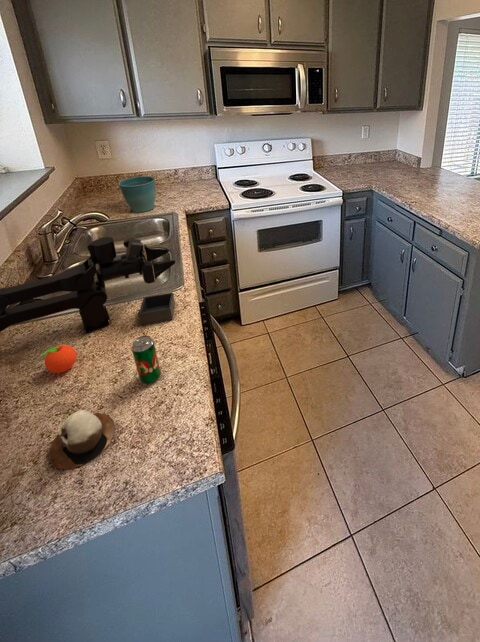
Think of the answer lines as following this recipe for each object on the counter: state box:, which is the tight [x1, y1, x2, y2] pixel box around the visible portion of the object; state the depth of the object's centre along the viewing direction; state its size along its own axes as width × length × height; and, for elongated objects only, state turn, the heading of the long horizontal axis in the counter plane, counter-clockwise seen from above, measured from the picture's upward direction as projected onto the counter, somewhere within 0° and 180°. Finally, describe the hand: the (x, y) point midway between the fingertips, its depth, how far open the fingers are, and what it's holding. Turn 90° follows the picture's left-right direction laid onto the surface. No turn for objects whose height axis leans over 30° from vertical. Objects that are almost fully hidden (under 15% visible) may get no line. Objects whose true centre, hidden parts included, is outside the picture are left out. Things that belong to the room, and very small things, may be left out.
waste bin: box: [138, 292, 176, 326], centre depth 117 cm, size 9×9×4 cm
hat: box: [48, 409, 116, 470], centre depth 77 cm, size 12×10×10 cm
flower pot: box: [118, 175, 157, 213], centre depth 201 cm, size 18×18×17 cm
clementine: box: [39, 344, 78, 374], centre depth 95 cm, size 8×7×7 cm
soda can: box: [130, 335, 162, 385], centre depth 91 cm, size 5×5×12 cm
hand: (171, 255), depth 120 cm, fingers open, 9 cm apart
